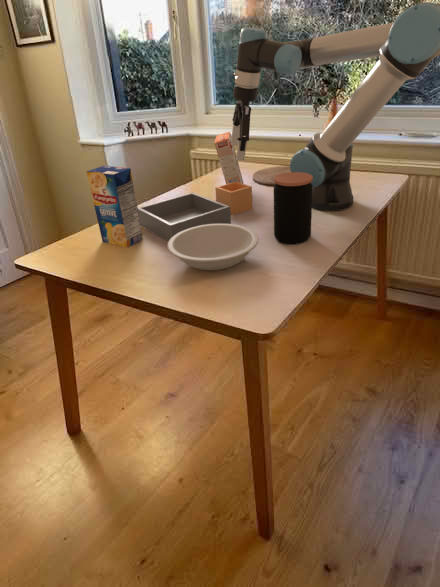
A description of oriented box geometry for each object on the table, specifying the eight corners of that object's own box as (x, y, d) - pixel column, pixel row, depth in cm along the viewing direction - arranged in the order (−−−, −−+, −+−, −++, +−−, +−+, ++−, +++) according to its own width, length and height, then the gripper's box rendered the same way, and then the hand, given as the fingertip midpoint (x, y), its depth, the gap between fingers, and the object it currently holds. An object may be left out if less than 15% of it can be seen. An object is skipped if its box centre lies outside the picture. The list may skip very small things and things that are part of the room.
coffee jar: (317, 235, 127) (320, 174, 118) (297, 248, 121) (298, 185, 111) (287, 228, 134) (288, 170, 125) (266, 240, 127) (265, 179, 118)
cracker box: (244, 193, 163) (229, 138, 153) (229, 197, 164) (213, 143, 154) (244, 182, 175) (230, 130, 165) (230, 186, 176) (215, 135, 166)
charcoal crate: (231, 224, 140) (229, 206, 137) (172, 244, 130) (170, 225, 126) (194, 208, 156) (192, 192, 153) (139, 225, 145) (136, 208, 142)
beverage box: (128, 247, 130) (113, 174, 119) (102, 241, 135) (86, 171, 124) (143, 239, 135) (130, 168, 123) (117, 233, 140) (103, 165, 129)
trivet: (244, 176, 190) (244, 171, 189) (296, 167, 195) (296, 163, 194) (266, 191, 169) (266, 186, 168) (323, 181, 174) (324, 176, 174)
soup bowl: (179, 245, 129) (176, 224, 125) (260, 243, 126) (259, 221, 122) (162, 285, 108) (158, 261, 105) (258, 283, 105) (257, 259, 102)
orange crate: (252, 208, 152) (251, 186, 148) (232, 215, 147) (230, 192, 143) (236, 203, 158) (235, 181, 154) (217, 209, 154) (215, 187, 150)
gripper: (229, 75, 144) (222, 138, 157) (240, 95, 125) (231, 165, 138) (251, 77, 145) (242, 140, 158) (265, 97, 126) (254, 167, 139)
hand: (237, 152), depth 148 cm, fingers open, 13 cm apart
